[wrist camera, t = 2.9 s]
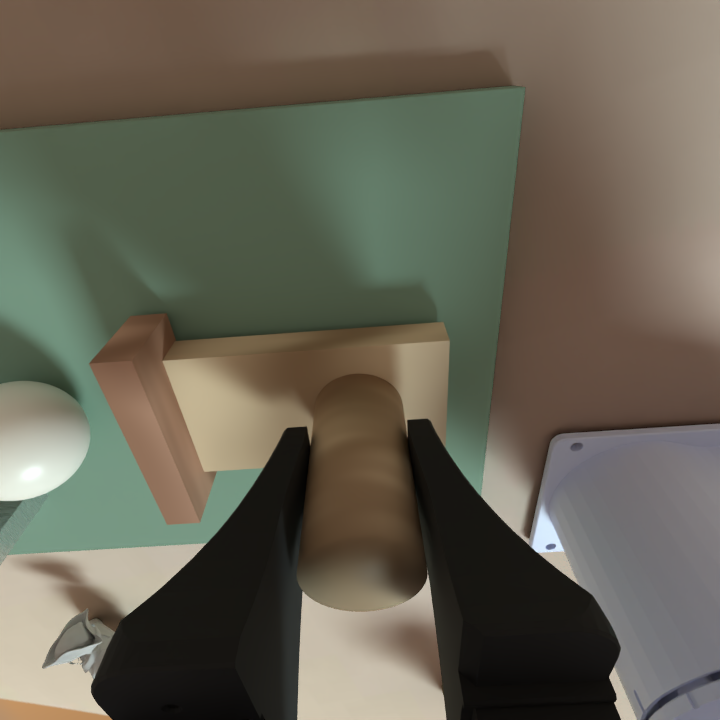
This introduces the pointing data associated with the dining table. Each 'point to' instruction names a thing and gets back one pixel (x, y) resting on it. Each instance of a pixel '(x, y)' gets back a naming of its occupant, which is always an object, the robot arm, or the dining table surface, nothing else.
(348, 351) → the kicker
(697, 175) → the dining table surface
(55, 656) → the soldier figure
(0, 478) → the ball
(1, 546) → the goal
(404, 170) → the pitch
